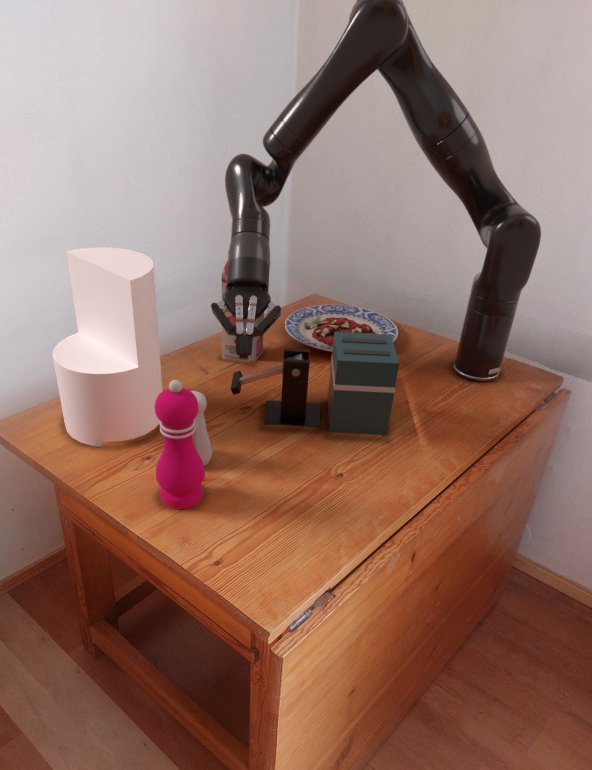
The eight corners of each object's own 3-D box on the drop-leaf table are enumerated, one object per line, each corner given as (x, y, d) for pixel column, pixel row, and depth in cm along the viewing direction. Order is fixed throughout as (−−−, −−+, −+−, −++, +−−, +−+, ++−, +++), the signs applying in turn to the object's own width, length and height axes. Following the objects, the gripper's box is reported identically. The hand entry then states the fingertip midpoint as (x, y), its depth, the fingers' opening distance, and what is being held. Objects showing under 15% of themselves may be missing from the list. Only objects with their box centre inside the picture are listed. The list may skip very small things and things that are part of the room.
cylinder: (127, 385, 123) (111, 240, 107) (184, 421, 114) (176, 267, 98) (46, 418, 113) (15, 262, 97) (101, 459, 103) (77, 295, 87)
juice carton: (234, 346, 139) (234, 245, 127) (262, 352, 138) (266, 250, 125) (222, 359, 134) (221, 255, 121) (251, 365, 132) (253, 260, 120)
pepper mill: (213, 488, 99) (210, 373, 87) (193, 516, 93) (188, 398, 82) (171, 477, 100) (163, 364, 89) (149, 504, 95) (137, 387, 83)
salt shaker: (170, 469, 102) (165, 399, 95) (187, 450, 106) (183, 382, 99) (202, 479, 100) (200, 408, 93) (218, 459, 105) (217, 390, 97)
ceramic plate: (418, 337, 147) (421, 325, 145) (349, 373, 131) (351, 360, 129) (332, 304, 161) (333, 293, 159) (261, 333, 145) (261, 321, 144)
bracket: (264, 429, 113) (266, 364, 105) (266, 405, 119) (268, 343, 112) (320, 432, 113) (326, 367, 105) (319, 408, 119) (325, 346, 112)
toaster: (328, 437, 111) (336, 360, 103) (325, 404, 121) (333, 330, 112) (387, 440, 111) (400, 363, 103) (380, 406, 121) (392, 333, 112)
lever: (234, 397, 110) (229, 386, 109) (237, 381, 115) (232, 369, 114) (306, 376, 108) (301, 364, 106) (305, 360, 112) (301, 348, 111)
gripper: (209, 253, 110) (203, 348, 107) (286, 256, 110) (281, 352, 107) (213, 272, 118) (208, 362, 115) (285, 275, 118) (281, 365, 115)
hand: (243, 357), depth 111 cm, fingers closed
